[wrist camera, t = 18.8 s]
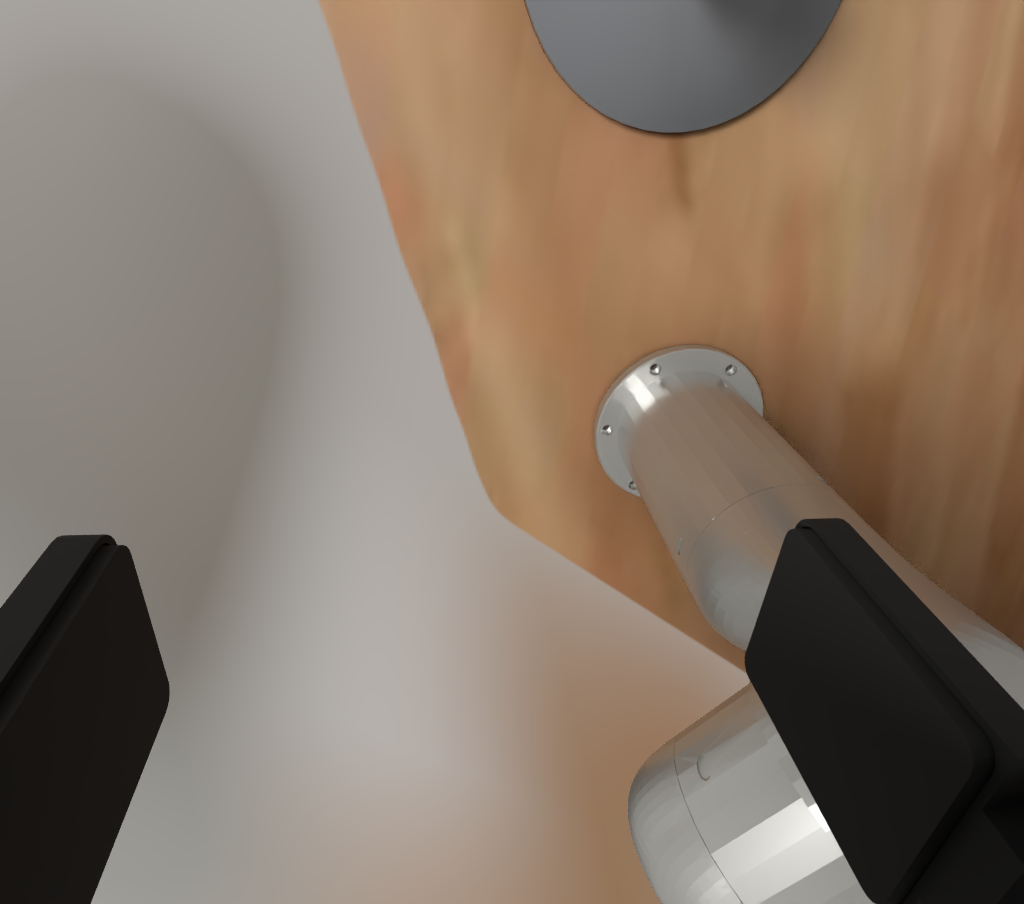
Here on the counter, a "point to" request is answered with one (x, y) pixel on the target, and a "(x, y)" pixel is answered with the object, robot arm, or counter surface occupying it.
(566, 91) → the counter surface
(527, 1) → the plate
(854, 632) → the robot arm
